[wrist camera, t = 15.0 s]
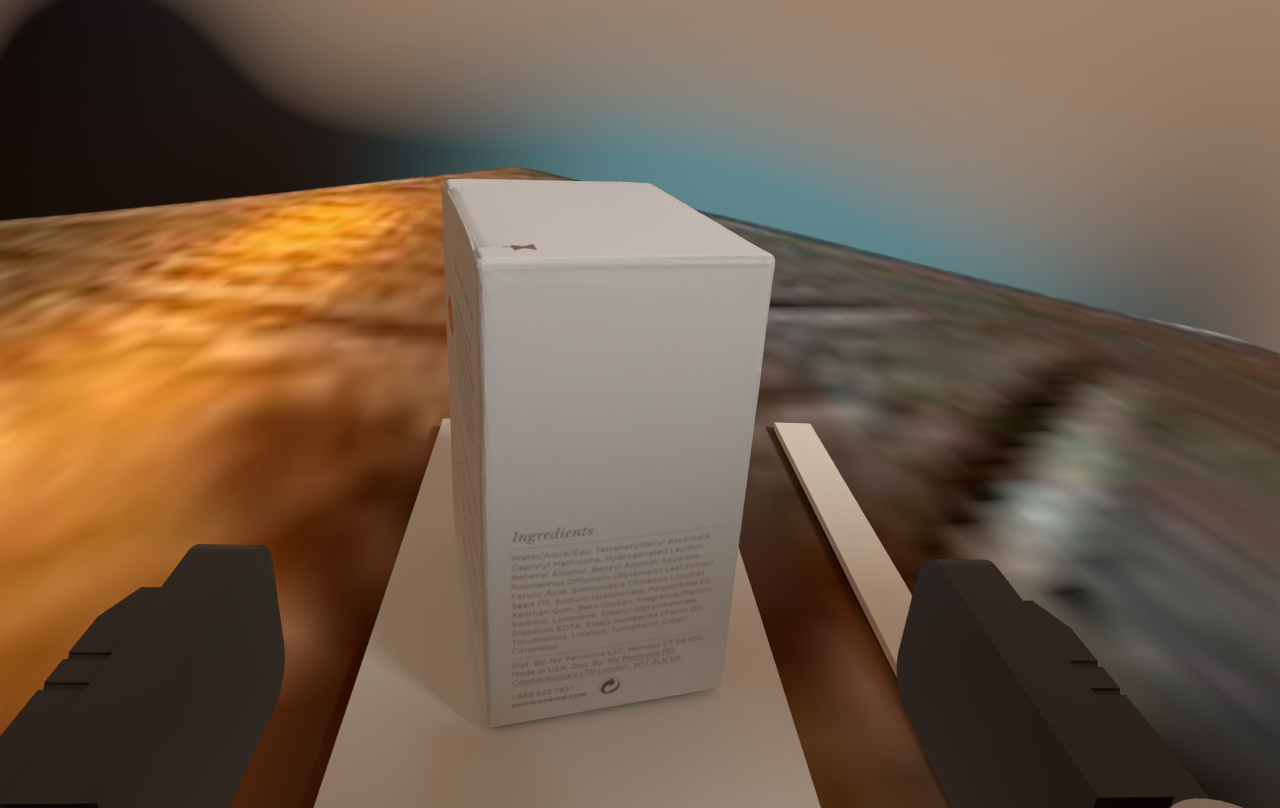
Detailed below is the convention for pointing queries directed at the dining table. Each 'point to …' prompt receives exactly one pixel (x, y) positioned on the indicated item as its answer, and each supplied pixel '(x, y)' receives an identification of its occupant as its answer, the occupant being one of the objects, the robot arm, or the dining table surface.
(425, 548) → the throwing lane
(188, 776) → the robot arm
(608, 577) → the small box
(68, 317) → the dining table surface
